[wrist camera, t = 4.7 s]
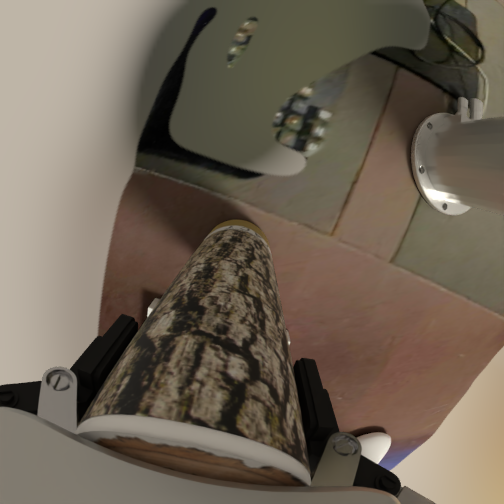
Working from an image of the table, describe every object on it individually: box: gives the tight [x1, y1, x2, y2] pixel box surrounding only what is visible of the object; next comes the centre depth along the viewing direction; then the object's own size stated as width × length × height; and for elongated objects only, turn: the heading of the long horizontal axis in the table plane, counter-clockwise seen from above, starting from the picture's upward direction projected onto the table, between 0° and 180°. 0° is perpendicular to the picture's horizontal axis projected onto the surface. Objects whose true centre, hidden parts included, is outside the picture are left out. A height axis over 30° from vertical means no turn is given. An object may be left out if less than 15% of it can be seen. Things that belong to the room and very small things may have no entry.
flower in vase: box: [357, 432, 391, 464], centre depth 27 cm, size 13×11×25 cm
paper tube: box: [76, 220, 312, 487], centre depth 17 cm, size 7×7×25 cm
